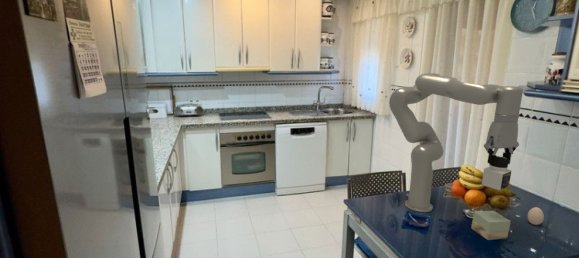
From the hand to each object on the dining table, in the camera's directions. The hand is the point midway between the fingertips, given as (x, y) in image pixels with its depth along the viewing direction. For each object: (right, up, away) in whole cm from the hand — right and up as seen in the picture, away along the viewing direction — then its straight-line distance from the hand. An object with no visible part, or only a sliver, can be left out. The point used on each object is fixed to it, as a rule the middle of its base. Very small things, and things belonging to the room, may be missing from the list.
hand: (498, 163), depth 122 cm
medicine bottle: (0, -10, +2) cm, 10 cm away
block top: (0, -26, +6) cm, 27 cm away
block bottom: (0, -30, +6) cm, 31 cm away
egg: (+25, -29, +14) cm, 40 cm away
